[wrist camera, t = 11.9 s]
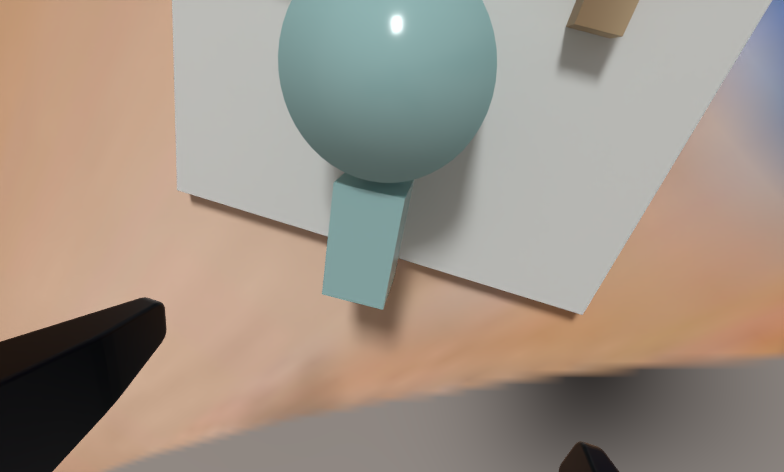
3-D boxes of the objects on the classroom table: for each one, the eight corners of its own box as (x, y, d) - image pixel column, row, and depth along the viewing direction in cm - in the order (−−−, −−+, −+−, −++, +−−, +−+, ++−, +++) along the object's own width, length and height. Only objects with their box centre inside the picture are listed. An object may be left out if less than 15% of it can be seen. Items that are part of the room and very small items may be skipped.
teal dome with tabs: (342, -78, 13) (283, -141, 9) (521, -49, 12) (546, -102, 8) (315, 238, 18) (271, 289, 14) (438, 268, 18) (428, 330, 14)
